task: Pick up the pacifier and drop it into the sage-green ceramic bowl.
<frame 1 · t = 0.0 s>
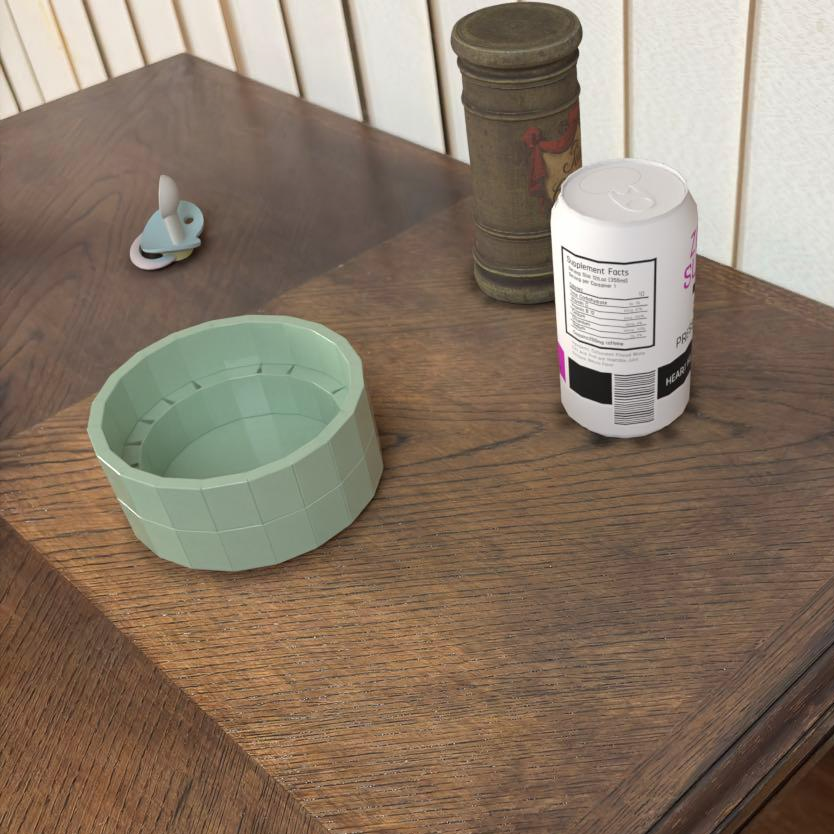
pacifier: (170, 253, 86), on the table
supplement can: (625, 405, 69), on the table
bowl: (258, 482, 66), on the table
container: (534, 274, 80), on the table
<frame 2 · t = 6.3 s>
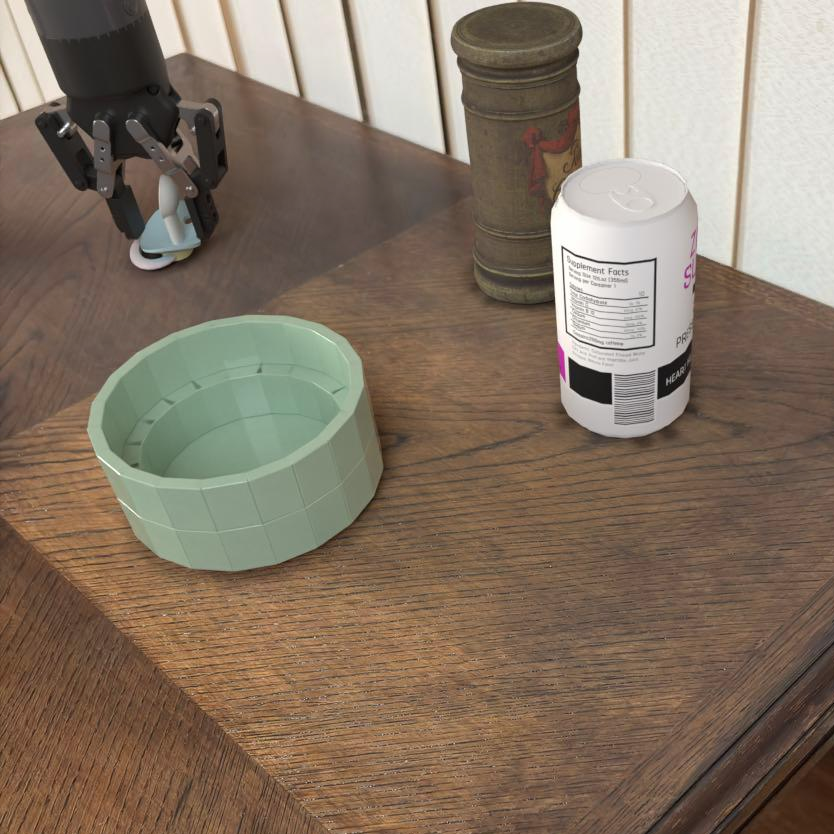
hand: (171, 233, 85), 2 cm above the table, tool pointing down, fingers closed on pacifier, 5 cm apart
pacifier: (170, 253, 86), on the table, touching gripper
everything else where it was.
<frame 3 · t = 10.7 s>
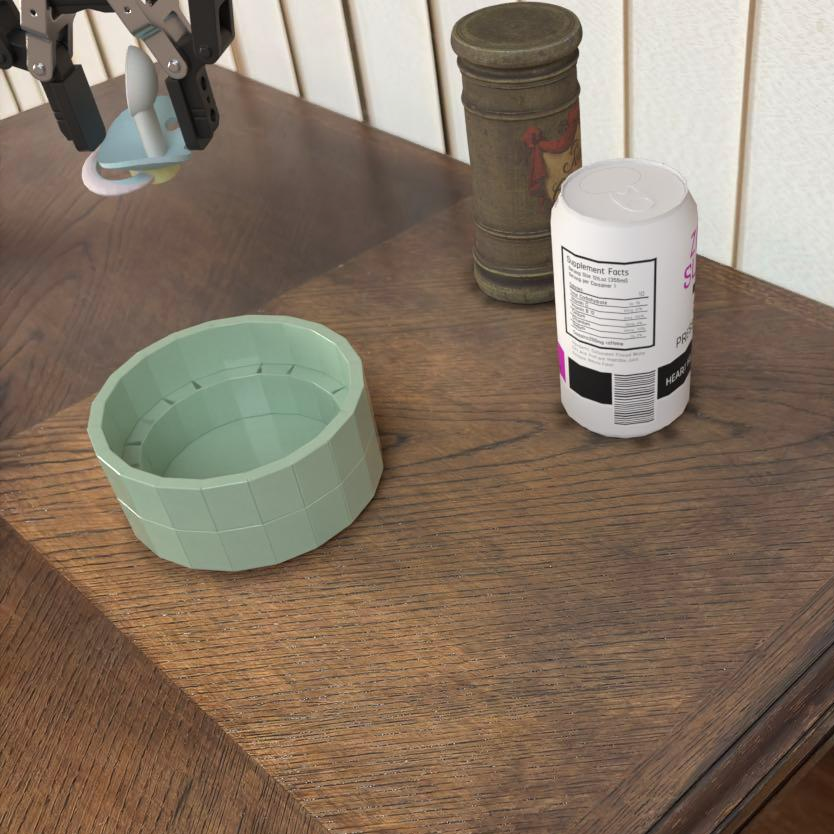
hand: (146, 142, 55), 20 cm above the table, tool pointing down, fingers closed on pacifier, 5 cm apart
pacifier: (145, 175, 56), point 18 cm above the table, touching gripper
everything else where it was.
when the fingers open (5 cm above the table, at t = 15.1 s): pacifier drops 3 cm, resting on bowl.
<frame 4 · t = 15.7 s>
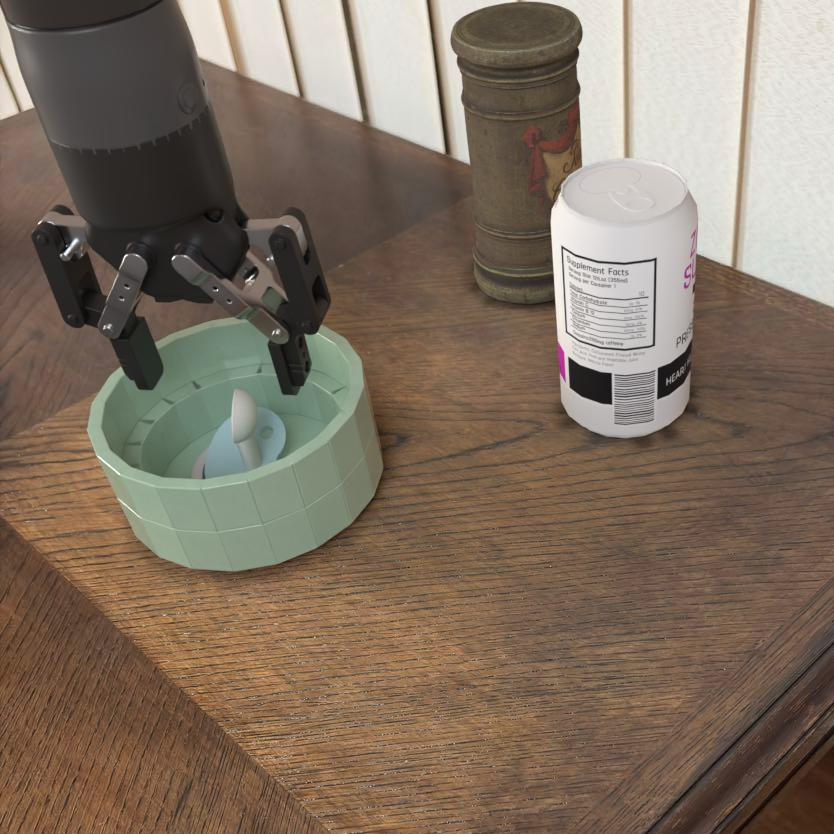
hand: (222, 384, 60), 8 cm above the table, tool pointing down, fingers open, 8 cm apart
pacifier: (242, 478, 66), resting on bowl
everything else where it was.
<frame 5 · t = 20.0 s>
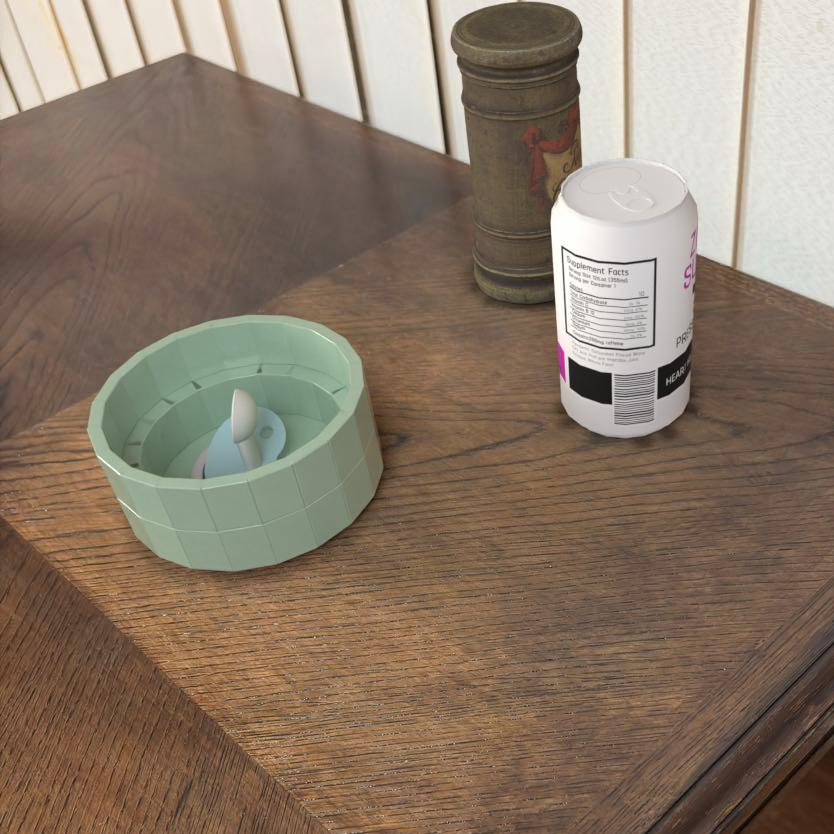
nothing on the table moved.
at the end: pacifier inside the target area in the bowl (1.0 cm from its centre), point 0.3 cm above the bowl's base; the gripper is holding nothing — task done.
